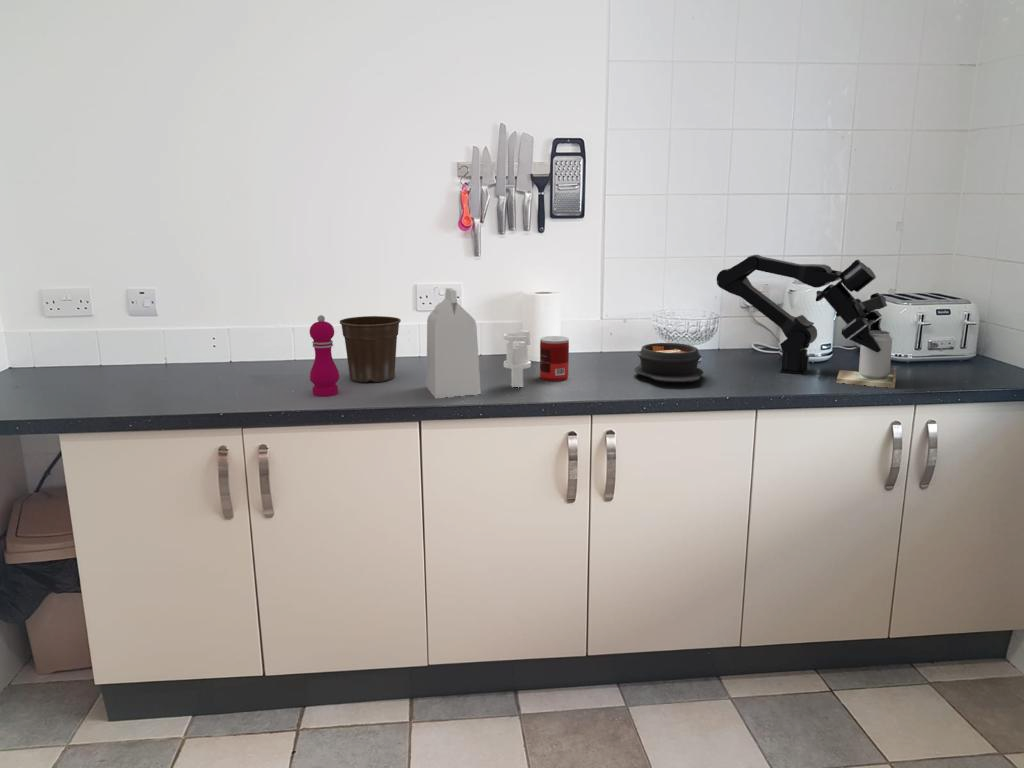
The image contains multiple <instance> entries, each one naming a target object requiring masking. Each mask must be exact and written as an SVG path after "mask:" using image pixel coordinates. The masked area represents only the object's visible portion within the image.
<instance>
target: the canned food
mask: <svg viewBox="0 0 1024 768" xmlns="http://www.w3.org/2000/svg"><path fill="white" fill-rule="evenodd" d="M569 350H570V340H569V338H568V337H566V336H561V335H549V336H542V337H540V341H539V375H540V379H541V380H542V381H547V382H561V381H566V380H567V379H568V377H569V364H570V363H569V361H570V359H569V357H570V351H569ZM565 379H566V380H565Z"/></svg>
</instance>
